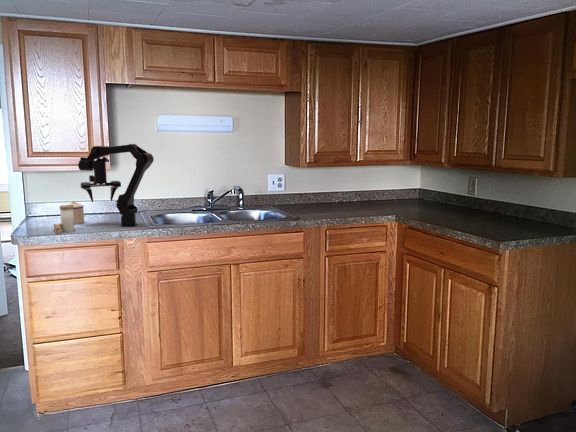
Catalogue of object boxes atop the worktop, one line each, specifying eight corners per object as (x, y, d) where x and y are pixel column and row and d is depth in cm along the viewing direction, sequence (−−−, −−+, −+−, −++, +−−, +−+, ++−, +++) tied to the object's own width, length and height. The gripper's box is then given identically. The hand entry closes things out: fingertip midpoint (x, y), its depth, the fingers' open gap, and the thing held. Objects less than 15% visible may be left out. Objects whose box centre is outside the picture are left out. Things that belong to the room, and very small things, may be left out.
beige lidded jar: (70, 221, 269) (68, 200, 267) (87, 221, 269) (85, 199, 267) (60, 225, 257) (59, 203, 255) (78, 225, 257) (77, 202, 256)
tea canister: (76, 229, 246) (75, 205, 244) (72, 232, 240) (70, 206, 238) (63, 230, 245) (62, 205, 243) (59, 232, 239) (57, 206, 238)
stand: (74, 228, 249) (73, 222, 249) (77, 232, 239) (77, 226, 239) (54, 230, 245) (53, 224, 244) (56, 234, 235) (56, 227, 234)
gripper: (115, 169, 267) (117, 198, 269) (77, 170, 258) (80, 200, 260) (120, 170, 257) (122, 201, 260) (81, 172, 248) (83, 203, 251)
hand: (101, 201), depth 258 cm, fingers open, 9 cm apart
